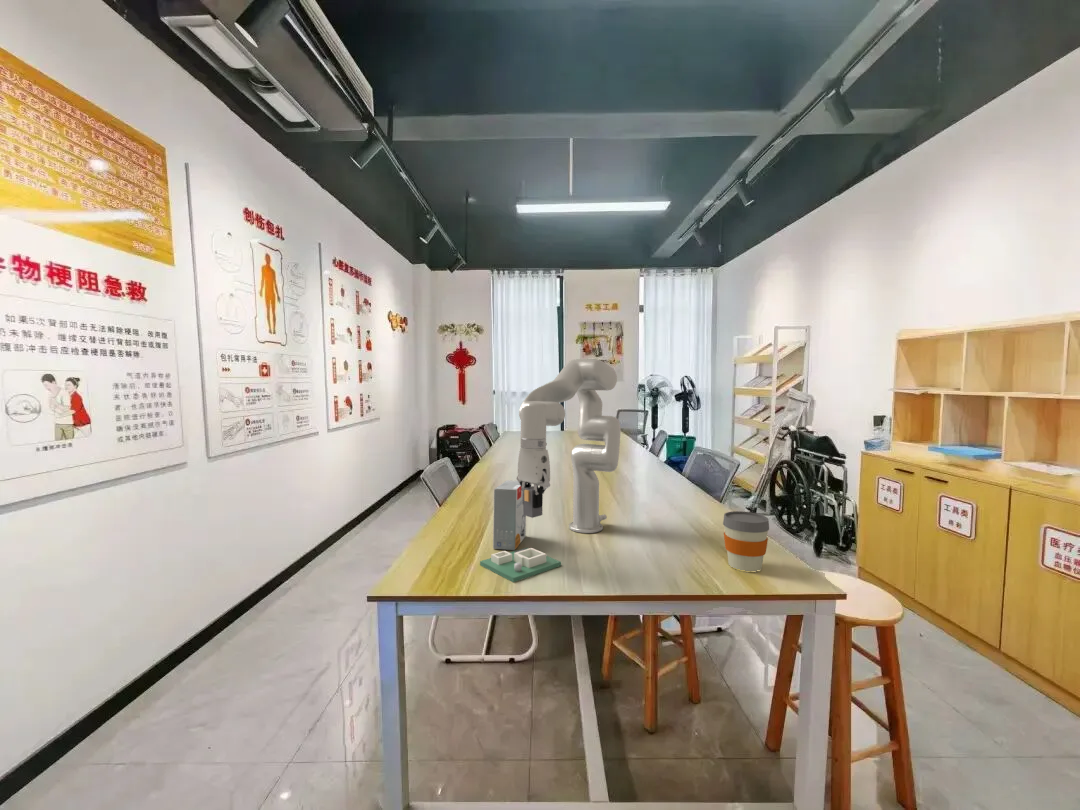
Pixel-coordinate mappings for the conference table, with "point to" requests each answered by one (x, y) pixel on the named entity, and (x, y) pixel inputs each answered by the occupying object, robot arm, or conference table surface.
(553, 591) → the conference table surface
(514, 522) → the hard drive box
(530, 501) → the plug
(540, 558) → the frame
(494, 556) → the board
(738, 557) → the reusable coffee cup
